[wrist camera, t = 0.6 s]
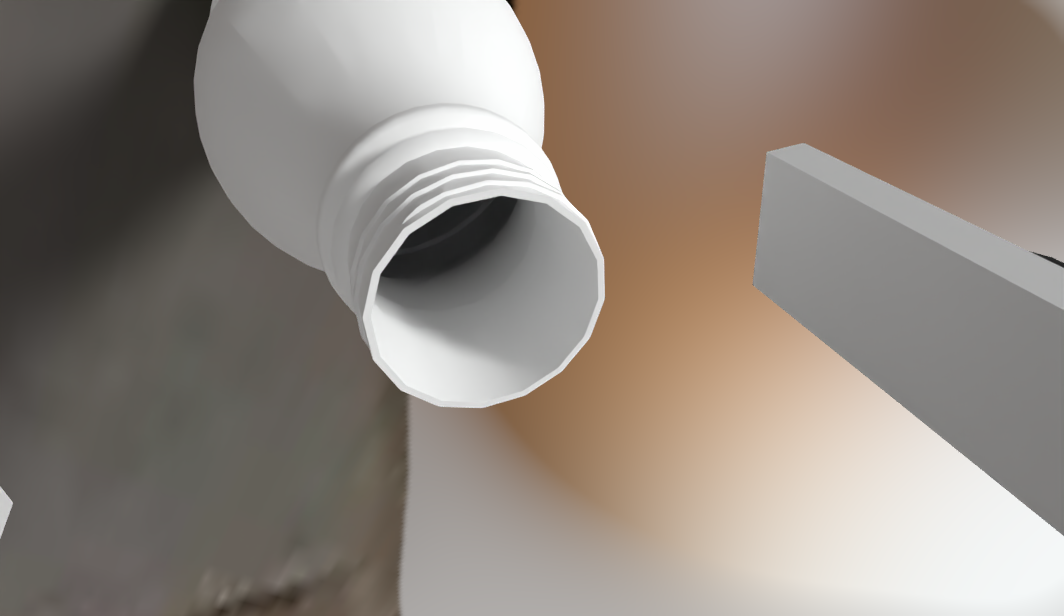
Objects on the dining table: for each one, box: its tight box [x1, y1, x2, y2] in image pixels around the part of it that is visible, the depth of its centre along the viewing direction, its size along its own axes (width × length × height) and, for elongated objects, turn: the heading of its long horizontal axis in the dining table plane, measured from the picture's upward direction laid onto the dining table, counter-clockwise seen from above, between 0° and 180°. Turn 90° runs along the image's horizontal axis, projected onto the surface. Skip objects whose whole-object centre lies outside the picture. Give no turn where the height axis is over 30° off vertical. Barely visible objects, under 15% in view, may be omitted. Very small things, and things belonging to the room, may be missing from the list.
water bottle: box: [194, 0, 605, 408], centre depth 18 cm, size 7×7×25 cm
